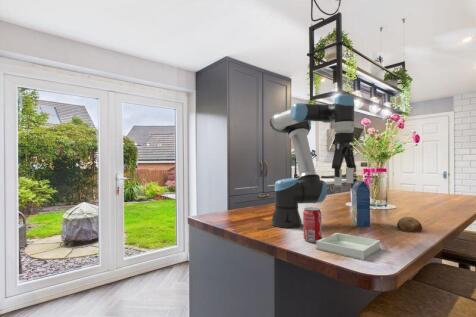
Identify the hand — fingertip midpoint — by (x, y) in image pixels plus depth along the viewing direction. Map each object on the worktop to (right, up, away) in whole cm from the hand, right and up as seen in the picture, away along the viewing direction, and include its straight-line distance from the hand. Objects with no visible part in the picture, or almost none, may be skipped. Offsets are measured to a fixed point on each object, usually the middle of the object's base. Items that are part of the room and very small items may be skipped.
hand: (344, 184), depth 115 cm
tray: (-4, -22, -14) cm, 26 cm away
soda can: (-14, -23, -2) cm, 27 cm away
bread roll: (+36, -23, +15) cm, 46 cm away
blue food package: (+19, -23, +27) cm, 40 cm away
